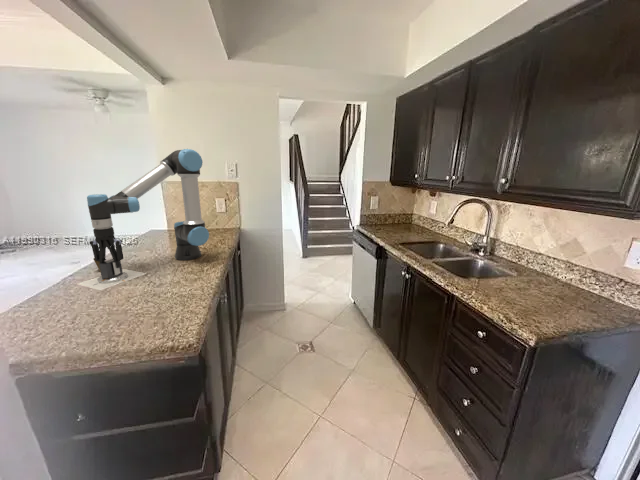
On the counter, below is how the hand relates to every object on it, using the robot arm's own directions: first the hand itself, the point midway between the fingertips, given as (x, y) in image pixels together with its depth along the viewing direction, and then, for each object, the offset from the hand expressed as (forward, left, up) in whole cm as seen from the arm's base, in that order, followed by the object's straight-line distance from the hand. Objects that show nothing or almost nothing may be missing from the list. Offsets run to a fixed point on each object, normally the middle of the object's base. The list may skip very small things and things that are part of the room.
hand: (112, 274), depth 133 cm
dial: (0, 0, -2) cm, 2 cm away
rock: (-7, -18, -4) cm, 20 cm away
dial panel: (0, 0, -4) cm, 4 cm away
